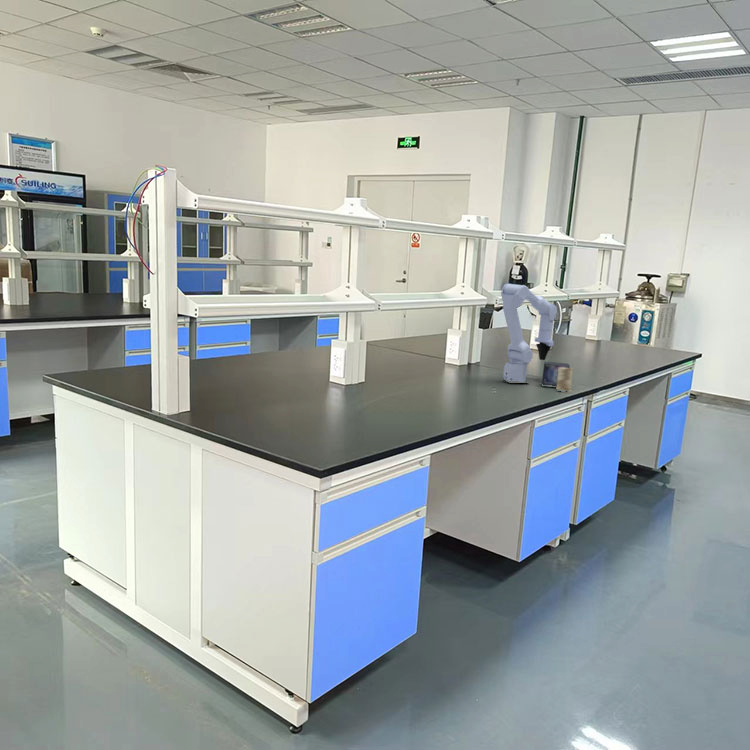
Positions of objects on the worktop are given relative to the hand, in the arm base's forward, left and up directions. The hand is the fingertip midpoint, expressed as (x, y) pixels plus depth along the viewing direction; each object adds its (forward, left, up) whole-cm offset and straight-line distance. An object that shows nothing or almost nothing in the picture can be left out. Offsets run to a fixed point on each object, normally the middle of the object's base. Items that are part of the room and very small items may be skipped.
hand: (542, 359), depth 297 cm
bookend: (-1, -23, -10) cm, 25 cm away
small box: (-1, -15, -10) cm, 18 cm away
